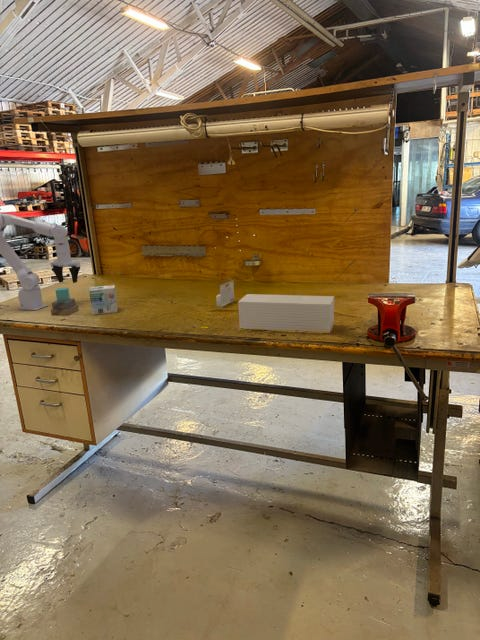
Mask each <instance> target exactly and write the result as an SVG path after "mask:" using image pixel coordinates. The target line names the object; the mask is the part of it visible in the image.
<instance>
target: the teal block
mask: <svg viewBox="0 0 480 640" xmlns="http://www.w3.org/2000/svg"><path fill="white" fill-rule="evenodd" d="M55 297H56V300H57V302H62V301H69V299H71V296H70V290H69V287H58V288H56V289H55Z"/></svg>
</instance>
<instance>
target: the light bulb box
mask: <svg viewBox="0 0 480 640" xmlns="http://www.w3.org/2000/svg"><path fill="white" fill-rule="evenodd" d="M115 286H116V285H115V284H109V285H100V286H90V287H89V288H88V289H89V290H88V292H89V301H90V307H91V314H92V315H93V316H95V315H103V314H112V313H118V312H119V311H118V299H117V293H116V287H115Z"/></svg>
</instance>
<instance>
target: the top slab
mask: <svg viewBox="0 0 480 640" xmlns="http://www.w3.org/2000/svg"><path fill="white" fill-rule="evenodd" d="M75 299H76V298H74V297H73V298H71V297H70V299H69V301H62V302H57V299H56V300H55V301H52V302H51V307H52V308H51V309H53V310H65V309H70V308H72V307H73V306H75V305H77V304H76V300H75Z"/></svg>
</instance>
